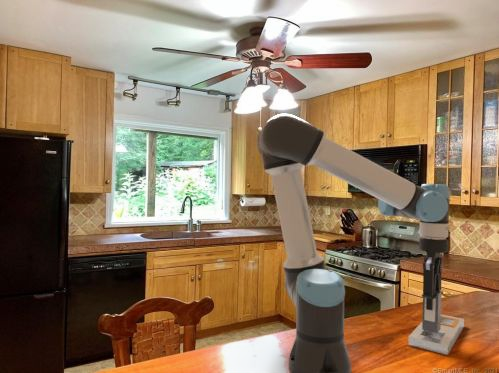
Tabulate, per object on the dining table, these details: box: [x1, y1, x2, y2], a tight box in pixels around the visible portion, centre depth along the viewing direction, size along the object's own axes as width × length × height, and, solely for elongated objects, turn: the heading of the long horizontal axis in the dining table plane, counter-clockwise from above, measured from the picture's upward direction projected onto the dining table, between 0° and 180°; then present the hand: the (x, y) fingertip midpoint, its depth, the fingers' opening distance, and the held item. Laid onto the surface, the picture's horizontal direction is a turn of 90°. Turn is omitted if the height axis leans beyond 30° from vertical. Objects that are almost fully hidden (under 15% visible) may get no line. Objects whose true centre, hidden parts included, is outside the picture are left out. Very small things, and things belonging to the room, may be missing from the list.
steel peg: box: [421, 290, 443, 333], centre depth 108 cm, size 4×4×11 cm
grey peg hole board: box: [408, 313, 465, 356], centre depth 114 cm, size 10×26×3 cm, turn 142°
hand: (431, 318), depth 108 cm, fingers closed on steel peg, 4 cm apart
